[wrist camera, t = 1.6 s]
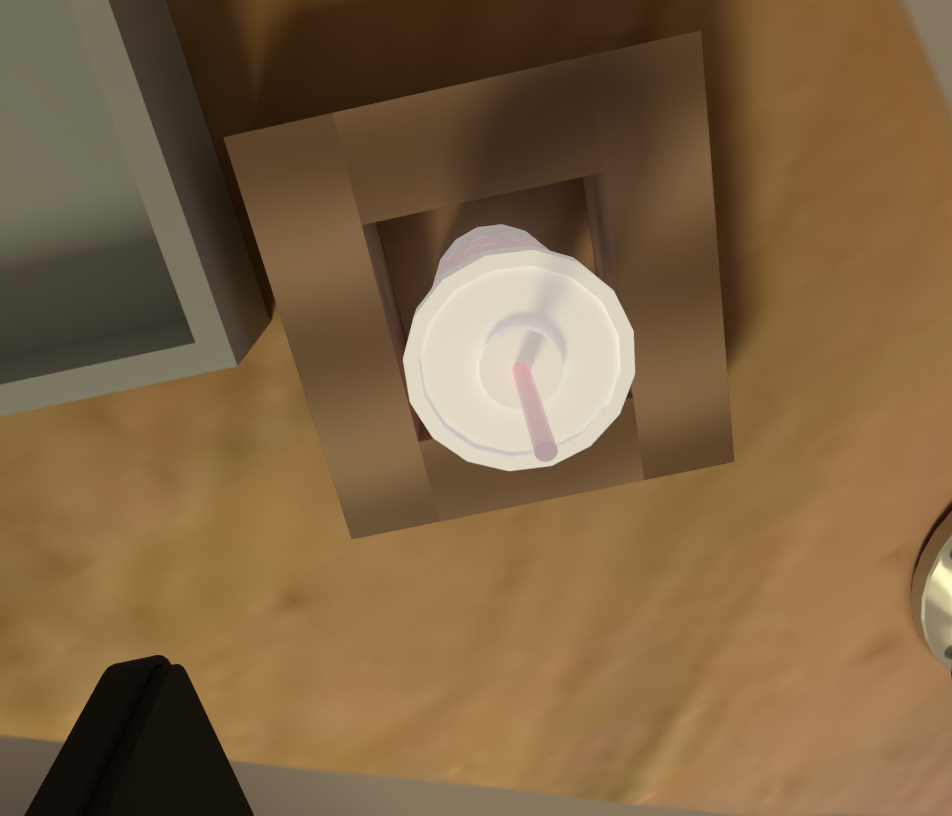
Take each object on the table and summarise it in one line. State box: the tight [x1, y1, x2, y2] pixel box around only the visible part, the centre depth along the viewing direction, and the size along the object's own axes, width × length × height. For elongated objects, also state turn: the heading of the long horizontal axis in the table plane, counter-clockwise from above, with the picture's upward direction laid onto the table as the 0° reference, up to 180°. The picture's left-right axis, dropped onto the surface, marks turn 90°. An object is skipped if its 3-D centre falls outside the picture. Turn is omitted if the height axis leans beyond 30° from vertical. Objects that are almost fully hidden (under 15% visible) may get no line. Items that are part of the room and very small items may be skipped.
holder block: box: [223, 30, 734, 539], centre depth 26 cm, size 14×14×4 cm
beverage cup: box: [403, 224, 635, 471], centre depth 21 cm, size 6×6×14 cm
